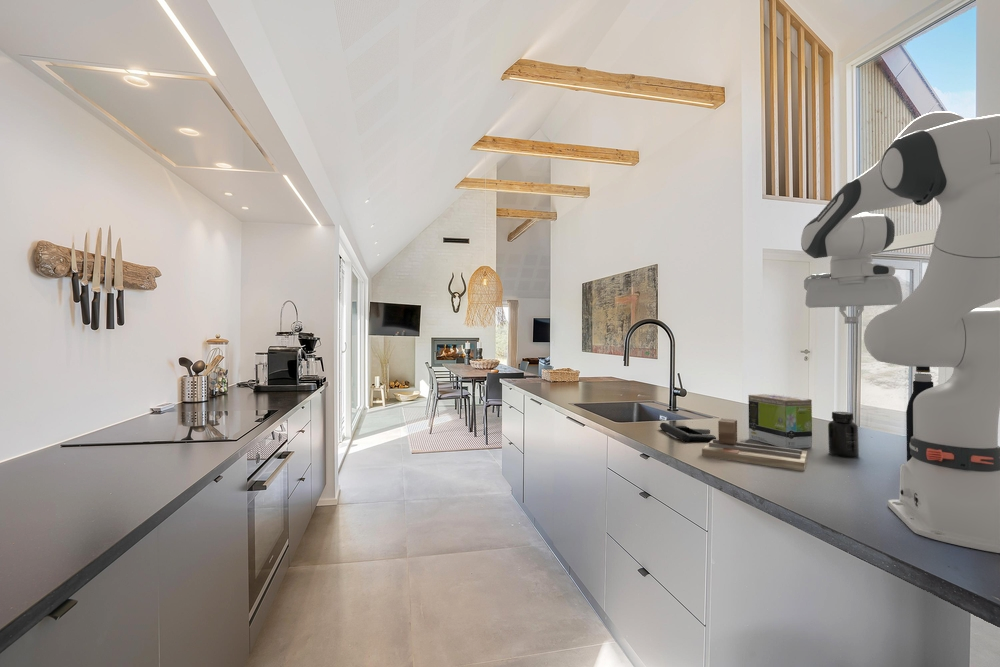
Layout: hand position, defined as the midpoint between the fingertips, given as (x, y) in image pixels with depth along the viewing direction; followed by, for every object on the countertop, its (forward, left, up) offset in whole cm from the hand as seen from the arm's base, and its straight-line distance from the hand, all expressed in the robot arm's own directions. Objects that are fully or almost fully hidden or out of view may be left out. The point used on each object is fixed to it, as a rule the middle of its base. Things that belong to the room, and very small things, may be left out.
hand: (851, 323), depth 119 cm
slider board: (-9, +22, -37) cm, 44 cm away
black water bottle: (+2, -14, -37) cm, 40 cm away
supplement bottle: (+8, +2, -37) cm, 38 cm away
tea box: (+14, +18, -37) cm, 44 cm away
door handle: (+9, +43, -38) cm, 58 cm away
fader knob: (-9, +28, -35) cm, 46 cm away
